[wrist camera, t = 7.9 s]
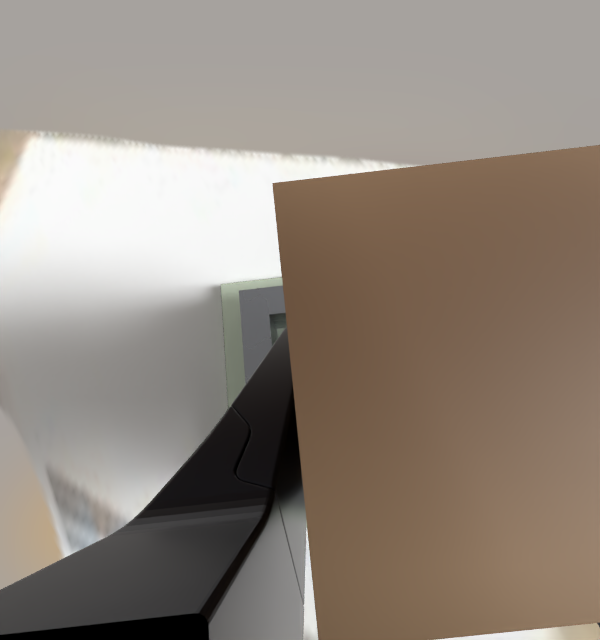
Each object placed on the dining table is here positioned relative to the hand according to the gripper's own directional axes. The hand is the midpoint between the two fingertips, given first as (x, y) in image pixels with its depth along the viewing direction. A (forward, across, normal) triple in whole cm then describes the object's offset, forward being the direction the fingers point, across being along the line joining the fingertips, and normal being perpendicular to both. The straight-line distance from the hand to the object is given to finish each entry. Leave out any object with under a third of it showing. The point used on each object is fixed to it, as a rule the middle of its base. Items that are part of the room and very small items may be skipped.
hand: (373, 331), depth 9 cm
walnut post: (+4, 0, +6) cm, 7 cm away
